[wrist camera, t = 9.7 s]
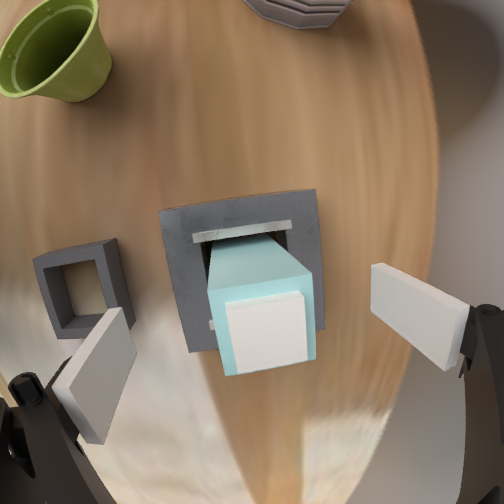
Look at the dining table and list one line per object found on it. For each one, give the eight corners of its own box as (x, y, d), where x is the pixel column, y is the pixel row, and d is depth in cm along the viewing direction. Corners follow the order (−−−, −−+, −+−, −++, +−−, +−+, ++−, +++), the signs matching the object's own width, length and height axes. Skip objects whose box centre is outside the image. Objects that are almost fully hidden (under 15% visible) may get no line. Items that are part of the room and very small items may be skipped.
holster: (70, 325, 23) (57, 339, 20) (49, 251, 21) (32, 258, 18) (135, 320, 24) (127, 335, 21) (115, 238, 22) (102, 244, 19)
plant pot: (146, 76, 19) (116, 28, 11) (63, 140, 20) (6, 124, 11) (109, 20, 17) (79, -26, 9) (36, 77, 17) (-11, 51, 9)
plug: (221, 292, 24) (226, 386, 12) (212, 241, 23) (206, 297, 11) (272, 284, 25) (321, 367, 12) (266, 233, 24) (318, 279, 11)
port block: (192, 329, 25) (188, 354, 20) (168, 208, 22) (157, 211, 18) (310, 309, 26) (326, 330, 21) (299, 189, 23) (316, 189, 19)
